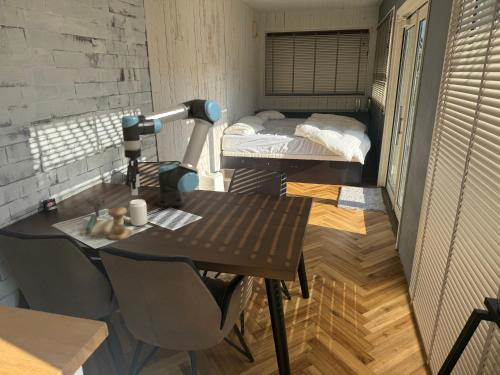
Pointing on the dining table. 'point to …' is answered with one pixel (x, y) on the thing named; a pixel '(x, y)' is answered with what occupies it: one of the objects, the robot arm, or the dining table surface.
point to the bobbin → (118, 224)
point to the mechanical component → (95, 204)
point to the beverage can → (138, 212)
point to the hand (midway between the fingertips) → (136, 190)
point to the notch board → (99, 226)
